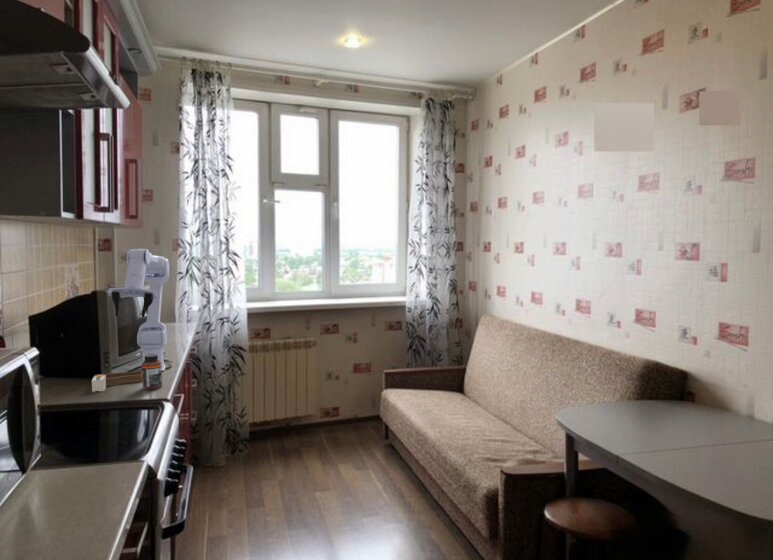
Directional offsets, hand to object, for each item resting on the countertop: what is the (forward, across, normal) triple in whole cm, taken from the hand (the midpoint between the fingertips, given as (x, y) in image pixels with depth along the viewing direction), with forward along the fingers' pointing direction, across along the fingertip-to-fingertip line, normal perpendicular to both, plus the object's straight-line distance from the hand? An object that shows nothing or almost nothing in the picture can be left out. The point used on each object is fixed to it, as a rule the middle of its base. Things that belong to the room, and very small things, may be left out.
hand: (129, 315), depth 166 cm
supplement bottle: (+19, +8, +17) cm, 26 cm away
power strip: (+17, -8, +22) cm, 29 cm away
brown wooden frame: (+12, -3, +27) cm, 30 cm away
